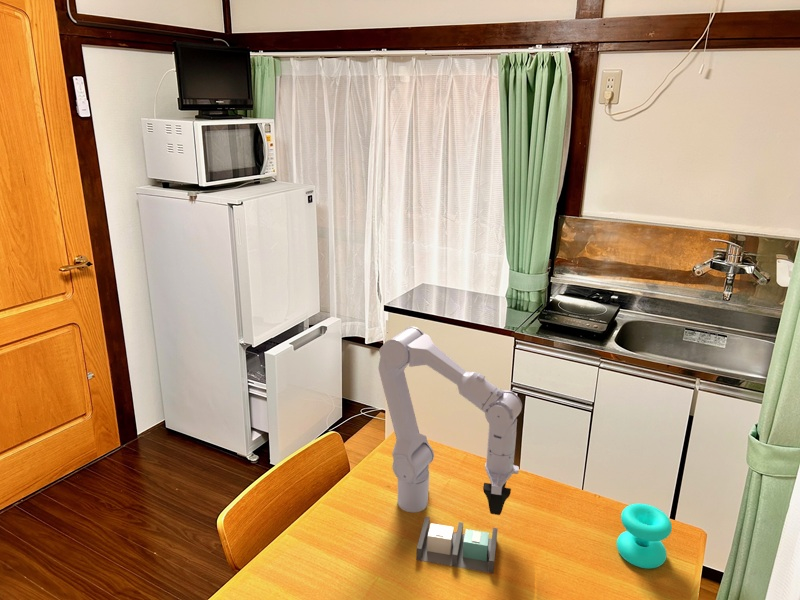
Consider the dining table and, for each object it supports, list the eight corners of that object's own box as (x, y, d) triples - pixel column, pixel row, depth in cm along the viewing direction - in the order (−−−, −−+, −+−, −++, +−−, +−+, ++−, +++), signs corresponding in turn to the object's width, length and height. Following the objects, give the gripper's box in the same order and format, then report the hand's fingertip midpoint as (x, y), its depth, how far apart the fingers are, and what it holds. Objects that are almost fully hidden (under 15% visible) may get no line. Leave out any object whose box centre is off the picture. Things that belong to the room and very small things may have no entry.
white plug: (430, 538, 132) (430, 522, 130) (452, 541, 131) (453, 526, 129) (427, 551, 128) (427, 535, 126) (450, 555, 127) (451, 539, 125)
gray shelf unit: (424, 531, 135) (425, 516, 134) (496, 543, 132) (497, 528, 130) (416, 563, 126) (416, 548, 124) (492, 577, 123) (494, 561, 121)
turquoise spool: (619, 522, 124) (625, 495, 132) (612, 561, 127) (619, 532, 136) (671, 538, 120) (674, 509, 128) (663, 578, 123) (666, 546, 131)
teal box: (464, 544, 130) (465, 528, 129) (488, 547, 129) (489, 532, 128) (462, 557, 126) (463, 541, 125) (486, 561, 125) (487, 545, 124)
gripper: (518, 471, 118) (513, 527, 123) (522, 432, 132) (517, 484, 136) (482, 465, 120) (479, 521, 124) (489, 428, 133) (486, 480, 138)
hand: (496, 502), depth 130 cm, fingers open, 7 cm apart
